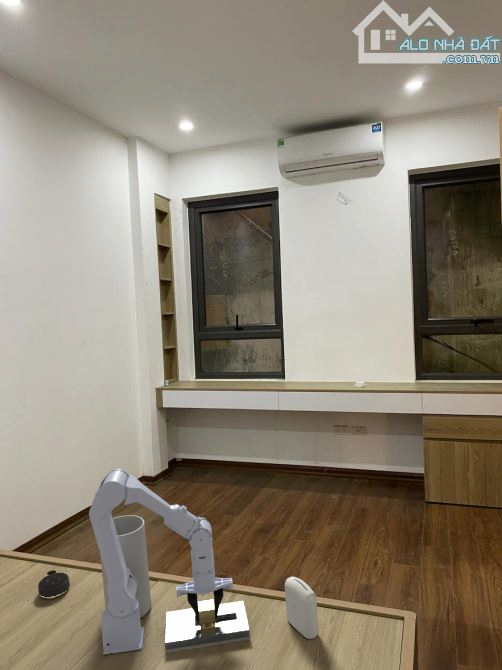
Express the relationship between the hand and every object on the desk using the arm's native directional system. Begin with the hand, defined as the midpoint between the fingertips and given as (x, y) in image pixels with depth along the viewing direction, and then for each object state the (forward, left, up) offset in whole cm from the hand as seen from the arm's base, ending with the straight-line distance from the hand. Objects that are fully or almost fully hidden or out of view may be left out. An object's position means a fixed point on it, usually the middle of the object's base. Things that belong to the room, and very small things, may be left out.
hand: (207, 617), depth 128 cm
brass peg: (0, 0, -3) cm, 3 cm away
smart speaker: (-46, +29, -4) cm, 54 cm away
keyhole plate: (0, 0, -3) cm, 4 cm away
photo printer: (+24, -4, -4) cm, 25 cm away
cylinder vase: (-22, +14, -4) cm, 26 cm away
